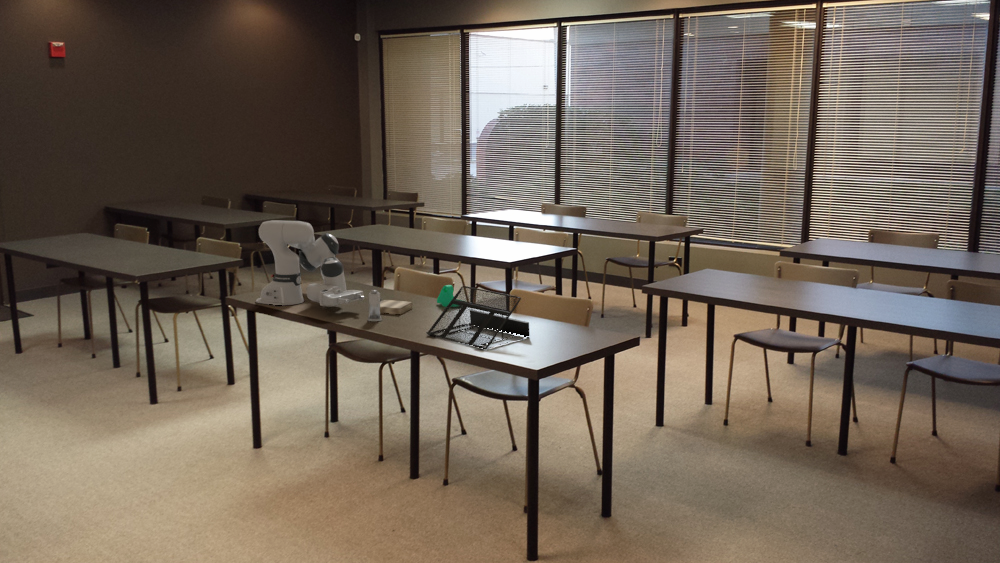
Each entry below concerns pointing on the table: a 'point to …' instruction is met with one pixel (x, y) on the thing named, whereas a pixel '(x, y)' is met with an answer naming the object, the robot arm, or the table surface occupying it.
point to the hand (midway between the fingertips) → (355, 299)
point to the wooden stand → (394, 306)
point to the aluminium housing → (374, 306)
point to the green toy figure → (446, 296)
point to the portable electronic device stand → (480, 318)
